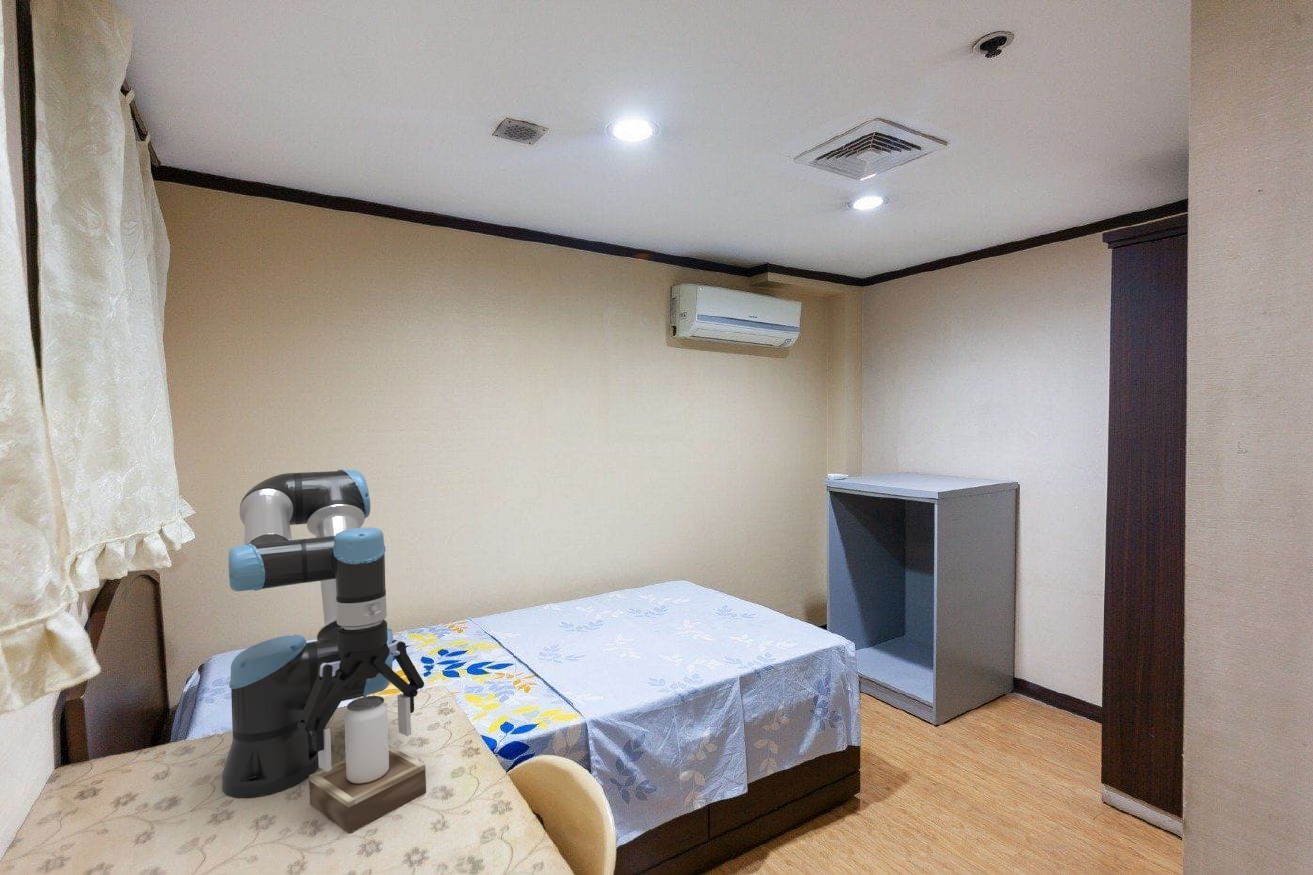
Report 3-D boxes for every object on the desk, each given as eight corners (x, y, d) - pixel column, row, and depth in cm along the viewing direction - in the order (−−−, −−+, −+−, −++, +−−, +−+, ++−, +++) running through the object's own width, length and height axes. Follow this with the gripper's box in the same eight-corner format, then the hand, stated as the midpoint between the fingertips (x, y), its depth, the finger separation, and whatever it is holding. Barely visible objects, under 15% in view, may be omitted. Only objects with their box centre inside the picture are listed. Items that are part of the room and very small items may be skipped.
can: (372, 787, 101) (370, 712, 101) (337, 783, 102) (334, 710, 102) (397, 765, 107) (395, 695, 107) (363, 762, 109) (361, 693, 109)
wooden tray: (310, 804, 104) (308, 775, 104) (385, 768, 114) (384, 742, 114) (349, 833, 96) (348, 802, 96) (426, 792, 106) (425, 764, 106)
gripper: (292, 649, 92) (297, 793, 93) (441, 607, 112) (445, 726, 112) (270, 640, 97) (275, 777, 97) (418, 601, 117) (421, 715, 117)
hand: (367, 750), depth 105 cm, fingers open, 13 cm apart
